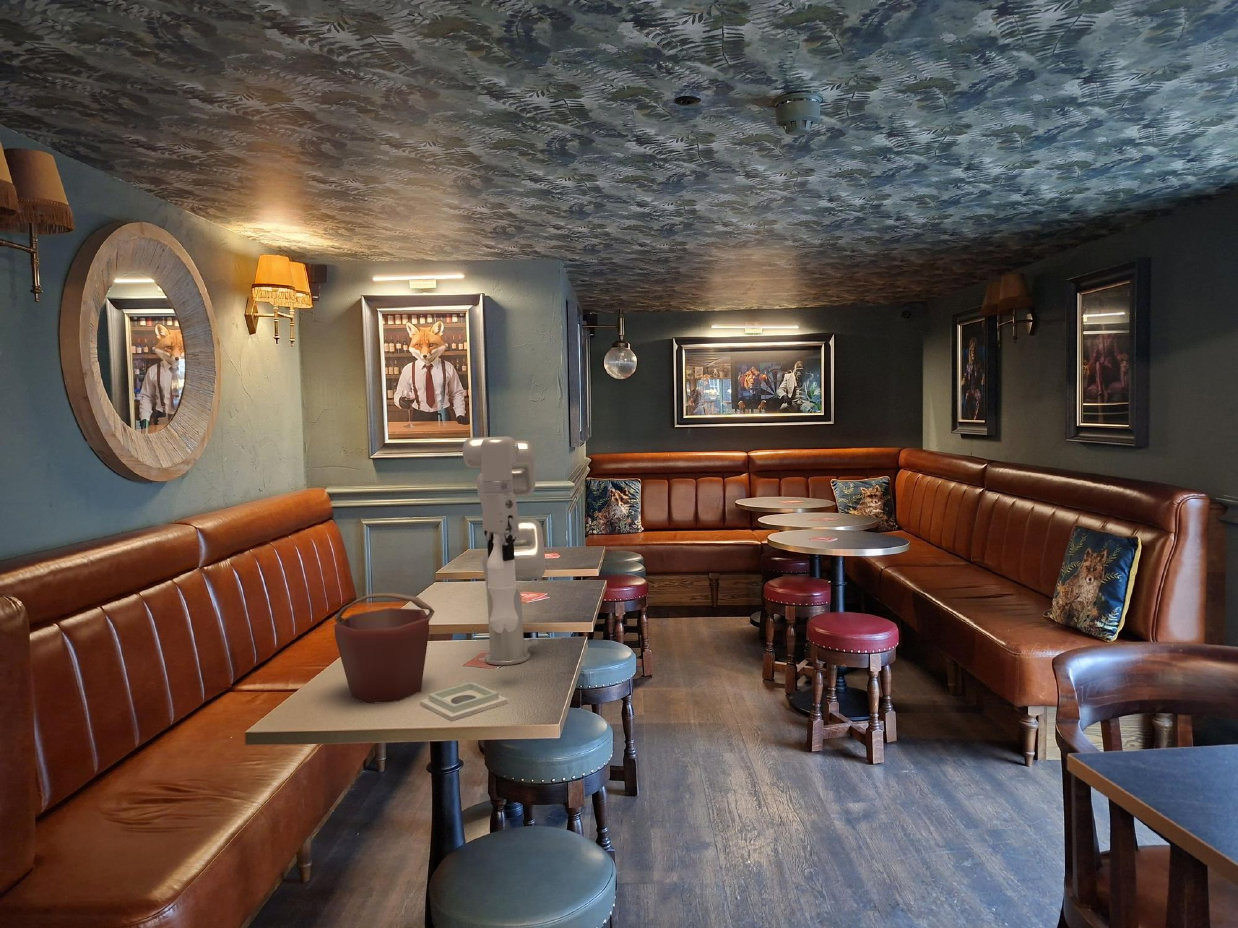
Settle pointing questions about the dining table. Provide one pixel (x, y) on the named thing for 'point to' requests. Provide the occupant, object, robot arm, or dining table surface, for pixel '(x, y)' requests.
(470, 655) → the dining table surface
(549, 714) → the dining table surface
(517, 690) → the dining table surface
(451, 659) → the dining table surface
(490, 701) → the plate
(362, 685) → the bucket
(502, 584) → the water bottle
